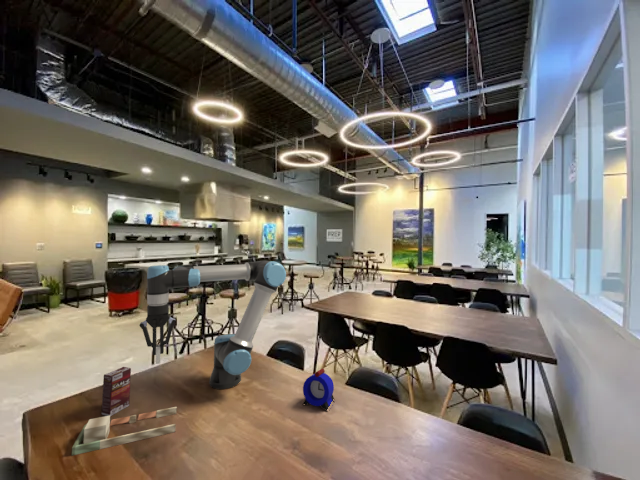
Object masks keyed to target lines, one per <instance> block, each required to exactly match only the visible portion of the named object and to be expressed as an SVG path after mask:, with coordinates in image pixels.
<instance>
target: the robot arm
mask: <svg viewBox="0 0 640 480" xmlns="http://www.w3.org/2000/svg"><path fill="white" fill-rule="evenodd" d="M146 273H147V275H146V276H147V277H146V283H147V284H146V288H147V289H146V291H147V293H146V302H147V307H146V308H147V309H146V310H147V311H146V313H147V316H146V317H145V319H144V321H141V322H140V324H139V327H140V328H141V330H142V333H143V335H144V339H145V341H146V346H147V347H148V348H149V347H151V348H152V355H153V356H155V364H156V365H157V364H161V359H162V358H161V355H162V354H164V353H165V352H164V350H165V349H164V346H165V345H168V344H169V342H170V338H171V334H172V330H173V327H174V325H175V323H176V321H177V320H176V318H173V317H171V315H170V313H169V312H170V309H169V308H170V307H169V301H170V300H169V299H170V297H169V296H170V295H169V289H176V288H177V289H178V288H186V287H188V288H192V287H198V286H199V285H200V283H201V282H217V281H218V282H219V281H231V280H232V281H237V280H245V281H246V282H248V281H251V282H252V281H253V285H254V287H255V288H254V290H253V292H252V294H251V297H250V299H249V302H248V304H247V307H246V309H245V311H244V313H243V316H242V317H241V320H240V322H239V325H238V327H237V329H236V332H235V333H232V334H231V333H229V334H221V335H218V336H216V337H215V338H214V343H213V345H214V346H213V349H214V350H213V368H212V370H211V371H212V372H211V373H210V377H209V382H208V383H209V384H210V385H209V386H210V387H211V388H212V387H213V388H212V389H215V388H216V389H217V390H226V388H227V389H231V388H234V387H236V386H238V385H239V384H240V383H241V382H240V381H242V374H243V373H245V372H246V371H247V370H248V369H249V368H250V365H251V364H252V355H251V354H252V353H251V352H252V351H253V349H254V344H253V340H254V338H255V335H256V333H257V330H258V327H259V326H260V323H261V321H262V318H263V316H264V314H265V311H266V308H267V307H268V304H269V302H270V299H271V297H272V295H273V294H274V293H276V292H277V290H278V288H279V286H281V285H283V284H284V282H285V280H286V279H287V278H286V277H287V272H286V269H285V267H284V265H283V264H281V263H280V262H277V261H274V260H273V261H271V260H258V261H251V262H250V261H248V262H244V264H243V263H241V264H222V265H219V264H218V265H217V264H216V265H194V266H182V265H179V266H176V267H174V268H173V269H170V267H169V265H164V264H163V265H150V266H149V267H148V268H147V272H146ZM167 323H169V326H168V330H167V334H166V337H164V335H165V334H164V333H165V331H164V329H165V328H164V327H165V325H166V324H167ZM147 325H149V326H150V327H151V328H152V341H151V338H150V334H149V333H150V332H149V330H148V327H147ZM157 328H159V344H157ZM164 338H165V340H164ZM239 382H240V383H239ZM238 383H239V384H238ZM237 384H238V385H237ZM235 385H236V386H235ZM233 386H234V387H233ZM230 387H231V388H230Z"/></svg>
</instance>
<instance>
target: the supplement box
mask: <svg viewBox="0 0 640 480" xmlns="http://www.w3.org/2000/svg"><path fill="white" fill-rule="evenodd" d="M131 372H132V368H131V367H126V366H122V367H120V368H117V369H114V370H112V371H110V372H108V373H105V374H103V384H102V399H101V401H102V402H101V415H102V416H110V417H111V416H113V415H115V414H117V413H120V411H122V410H124V409H126V408H127V407H129V406H130V393H131V375H132V373H131Z"/></svg>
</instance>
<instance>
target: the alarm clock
mask: <svg viewBox="0 0 640 480" xmlns="http://www.w3.org/2000/svg"><path fill="white" fill-rule="evenodd" d="M325 371H326V370H325V369H324V368H321V369H319V370H317V371H316V372H314V373H313V374H312V375H310V376H309V377H307V378H306V379H305V381H304V382H303V386H302V393H303V396H304V399H305V400H304V401H303V403H302V405H303V404H305V405H304V406H307V405H312V406H314V407H320V408H321V409H323V410H325V409H326V410H327V409H328V407H329V406H330V404H331V402H332V401H333V399H334V400H335V398H334V395H333V394H334V391H335V389H334V388H335V387H334V386H335V385H334V382H333V379H332V377H330V375H328V373H326V372H325ZM326 410H325V411H326Z"/></svg>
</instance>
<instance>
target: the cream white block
mask: <svg viewBox="0 0 640 480" xmlns="http://www.w3.org/2000/svg"><path fill="white" fill-rule="evenodd" d="M110 423H111V416H105V415H103V416H99V417H95V418H90V419H88V422H87V423H86V424H87V425H86V427H85V429H84V439H83V444H85V443H90V442H95V441H99V440H104V439H108V437H109V434H110V429H111V426H110Z"/></svg>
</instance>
